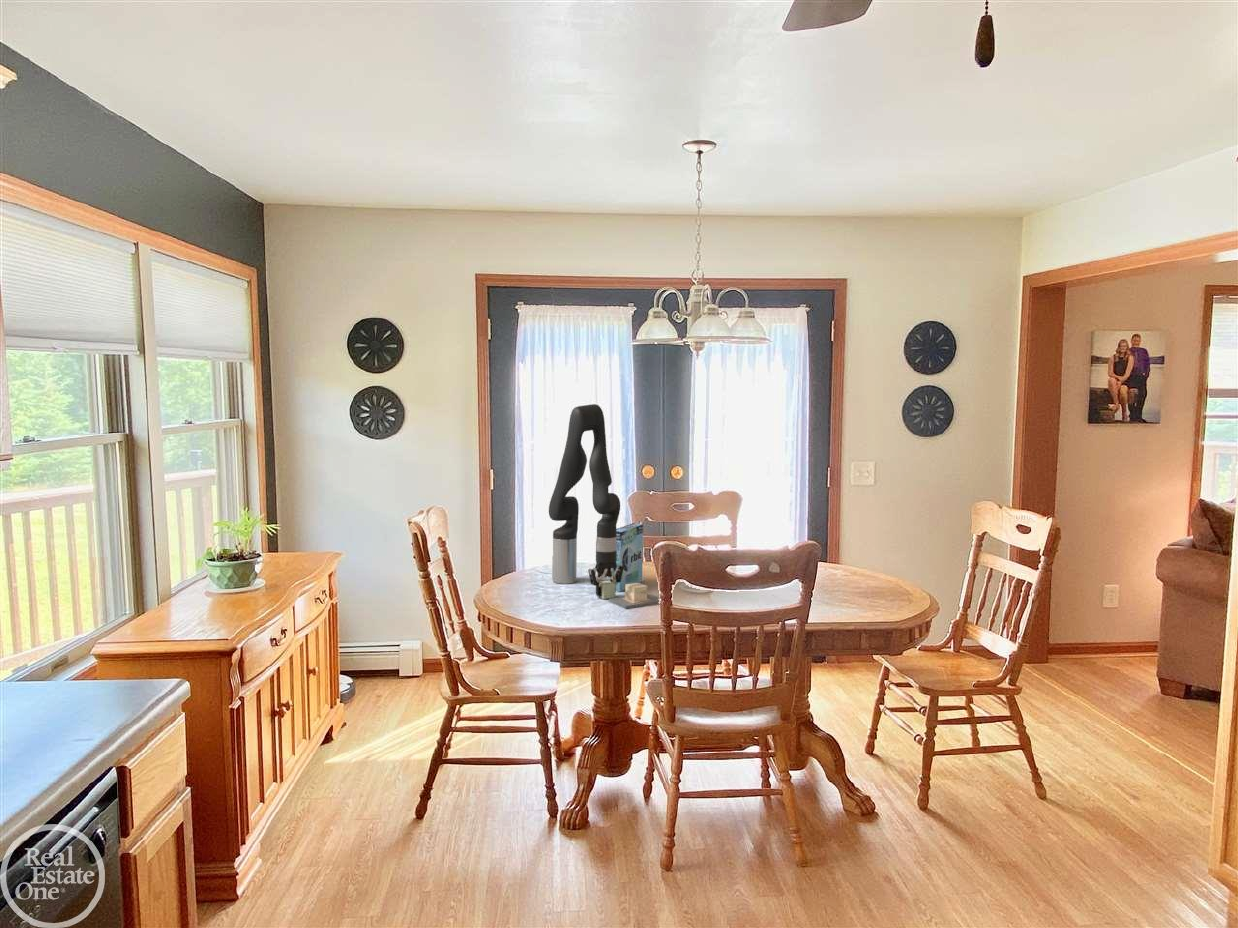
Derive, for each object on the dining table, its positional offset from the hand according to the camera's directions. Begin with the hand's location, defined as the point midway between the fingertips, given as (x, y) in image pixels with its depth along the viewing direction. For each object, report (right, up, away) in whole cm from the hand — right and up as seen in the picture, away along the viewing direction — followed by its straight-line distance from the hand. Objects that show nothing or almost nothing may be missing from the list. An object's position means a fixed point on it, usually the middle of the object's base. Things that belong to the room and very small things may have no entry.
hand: (605, 595), depth 292 cm
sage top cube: (0, 0, 0) cm, 0 cm away
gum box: (+8, 0, +18) cm, 19 cm away
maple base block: (+11, 0, -6) cm, 12 cm away
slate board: (+11, -1, -6) cm, 13 cm away
